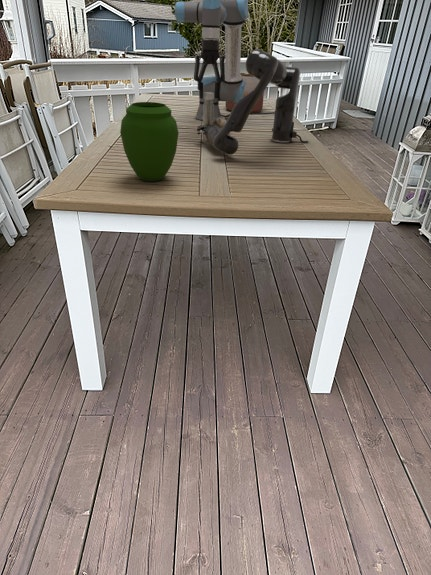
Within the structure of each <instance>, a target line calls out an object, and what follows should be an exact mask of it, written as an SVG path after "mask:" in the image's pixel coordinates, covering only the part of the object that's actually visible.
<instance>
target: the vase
mask: <svg viewBox="0 0 431 575" xmlns="http://www.w3.org/2000/svg"><path fill="white" fill-rule="evenodd" d="M125 113H126V114H125V115H124V117H122V119H121V122H120V123H121V124H120V130H119V133H120V138H121V142H122V147H123V150H124V154H125V155H126V158H127V160H128V163H129V165H130V167H131V168H132V170H133V172H134V173H135V175H136V176H137V177H138V178H139V179H141V180H143V181H145V182H159V181H161V180H163V179H164V178H165V176H166V175H167V174H168V173H169V170H170V169H171V167H172V165H173V162H174V159H175V157H176V156H175V155H176V153H177V147H178V140H179V129H178V122H177V120H176V119H175V117H174V116H173V115H172V109H171V108H170V107H169V106H167V105H166V104H164V103H162V102H155V101H138V102H132V103H131V104H130V105H128V107H127V108H125Z"/></svg>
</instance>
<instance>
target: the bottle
mask: <svg viewBox="0 0 431 575" xmlns="http://www.w3.org/2000/svg"><path fill="white" fill-rule="evenodd" d="M213 113H214V104H213V101H212V100H208V99H205V102H204V104H203V120H202V126H207V127H208V126H209V125H212V124H213V122H214V121H213ZM201 135H202V137H201V138H202V139H201V140H202V142H201V143H202V144H208V145H209V144H212V143H211V142H210V141H209V140H208V139H207V138H206V136H205V135H204V134H203V133H202V134H201Z"/></svg>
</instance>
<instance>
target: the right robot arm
mask: <svg viewBox="0 0 431 575" xmlns="http://www.w3.org/2000/svg"><path fill="white" fill-rule="evenodd" d="M246 57H247V58H246V60H245V70H246V73H249V74H250V75H252V76H254V77H256V78H257V79H259V80H260V81H259V83H258V85H257V86H256V87H255V89H254V90H253V91H252V92H250V93H249V94H248V95H246V96H245V97H244V98H242V99H241V100H239V101H238V102H237V103H236V104H235V106H234V107H233V109H232V111H230V113H229V114H230V115H229V116H228V118H227V119H226V121H227V122H226V123H225V125H224V126H223V127H220V126H218V125H215V124H212V125H209V126H208V127H207V126H203V124H200V125H198V126H196V127H197V128H196V134H197V135H198V136H199V135H203V134H204V135H205V136H206V138H207V139H208V140H209V141H210V142H211V143H210V144H212V146H213V148H214V149H216V150H217V151H219V152H221V153H224V154H226V155H229V156H231V155H234V154H236V153H237V151H238V149H239V141H238V139H237V138H236V137H235V136H232V135H230V133H231V132H233V133H241V132H242V130H243V128H244V127H245V125H246V122H247V121H248V118H249V117H250V115H251V114H250V113H251V111H252V109H253V107H254V106H255V104H256V103H257V101H258V100H259V98H260V97H261V95H262V94H263V92H264V93H265V90H266V89H267V87H268V86H269V84H271V85H274V86H275V87H277V88H278V89H284V90H288V93H286V94H284V95H280V96H278V97H277V98H276V99H275V106H274V112H275V113H274V116H273V117H274V118H273V125H272V126H273V127H272V129H271V132H272V134H271V141H272V142H273V143H278V144H288V143H292V140H293V139H296V138H299V141H300V142H301V143H302V144H306V143H309V140H303V139H302V137H301V135H299V134H298V132H297V131H295V130H294V128H295V121H294V117H295V116H294V114H295V107H296V100H297V96H298V89H299V83H300V78H301V70H300V68H299V67H296V66H295V67H294V66H286V65H285V63H284V62H282V60H280V59H278V58H277V57H276V56H274V55H272V54H270V53H269V52H266V51H265V50H263V49H260V48H255V49H253V50H252V51H250V52H249V53H248V56H246Z"/></svg>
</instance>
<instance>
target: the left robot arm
mask: <svg viewBox="0 0 431 575" xmlns="http://www.w3.org/2000/svg"><path fill="white" fill-rule="evenodd" d="M174 17H175V20H176V21H177V22H179V23H184V24H185V23H194V24H195V23H197V24H202V25H201V31H202V32H201V38H202V40H201V52H200V54H195V55H194V60H195V61H194V69H193V70H194V72H193V81H194V82H197V90H198V91H199V92H198V95H199V96H198V98H199V99H198V101H199V103H198V104H199V105H198V107H197V111H196V114H195V119H196V120H199V121H203V104H204V102H205V99H204V92H212V93H214V99H213V100H212V101H213V104H214V113H213V122H214V121H215V120H216V119H218V118H221V117H224V118H227V117H228V118H229V116H230V113H228V114H227V115H224V114H221V110H220V107H219V105H220V103H219V102H225V103H226V102H233V103H234V102H238V101H239V100H241V99H242V98H243V94H244V90H245V81H243V77H242V76H241V74H240V73H241V62H242V61H241V59H242V58H241V56H242V55H241V54H242V27H243V25H244V24H245V21H246V20H247V19H248V17H249V2H248V0H189V1H184V0H182V1H177V2H176V3H175V6H174ZM221 24H222V25H223V26H224V41H225V42H224V55H221V54H220V41H219V40H220V37H221V36H220V34H221ZM201 60H202V63H201ZM218 61H219V66H218ZM200 64H201V68H200ZM208 65H212V68H213V72H214V76H212V75H211V76H205V77H204V75H205V72H206V70H207V67H208ZM268 114H269V115H270V114H275V111H271V112H269V111H267V112H257V113H250V114H249V115H268Z"/></svg>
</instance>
